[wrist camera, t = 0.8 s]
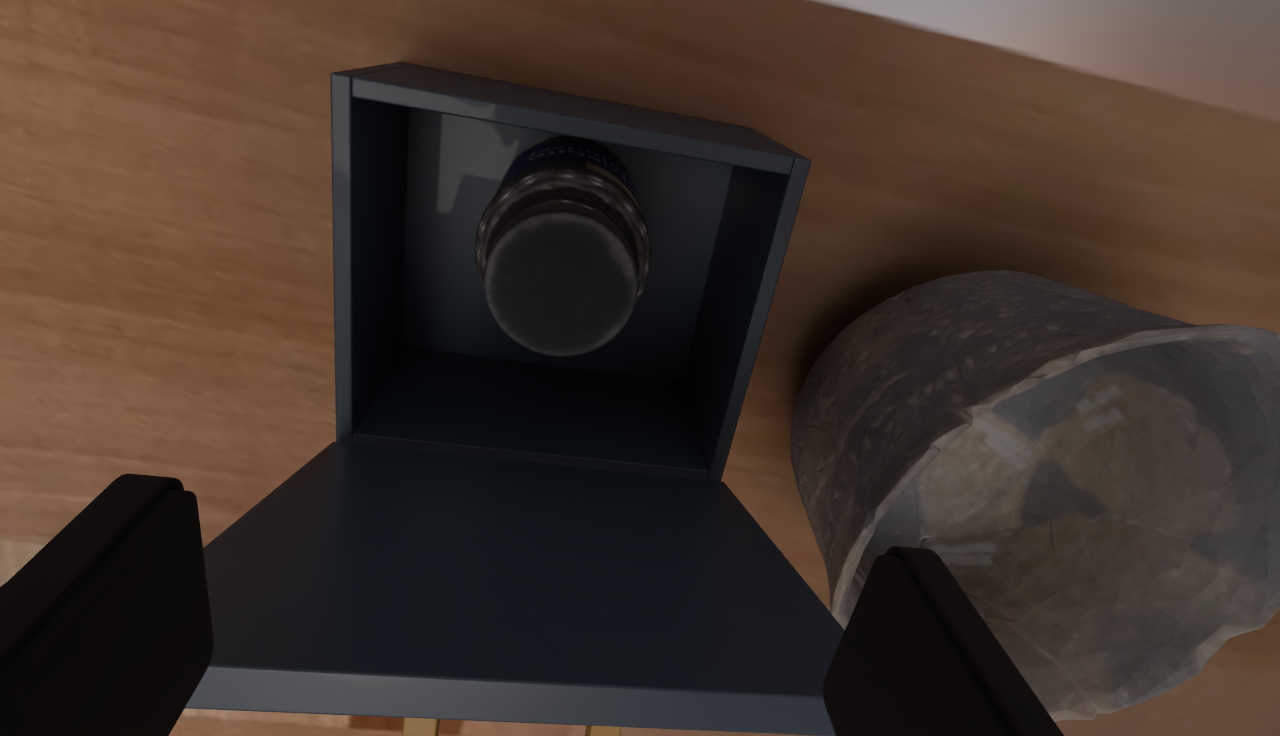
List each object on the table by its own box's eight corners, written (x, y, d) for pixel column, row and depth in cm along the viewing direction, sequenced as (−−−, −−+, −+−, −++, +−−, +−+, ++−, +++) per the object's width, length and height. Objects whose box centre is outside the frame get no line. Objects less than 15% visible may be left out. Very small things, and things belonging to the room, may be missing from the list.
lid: (67, 657, 11) (56, 932, 12) (904, 701, 14) (856, 928, 14) (332, 441, 25) (320, 573, 26) (724, 481, 27) (704, 602, 28)
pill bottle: (650, 152, 29) (686, 212, 20) (619, 282, 32) (638, 393, 22) (509, 119, 28) (472, 165, 18) (489, 256, 31) (447, 360, 21)
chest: (398, 61, 28) (329, 72, 20) (751, 128, 30) (812, 160, 22) (391, 350, 33) (335, 445, 25) (689, 387, 35) (720, 484, 28)
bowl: (782, 185, 31) (938, 300, 18) (1122, 224, 33) (1487, 350, 20) (716, 496, 39) (790, 739, 25) (996, 510, 41) (1199, 739, 28)
